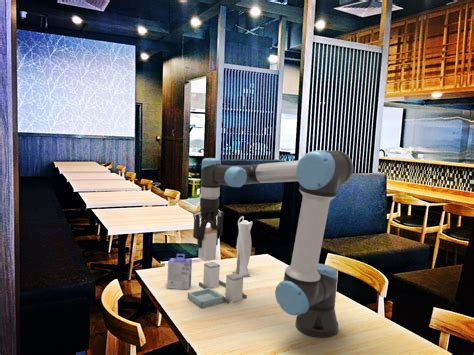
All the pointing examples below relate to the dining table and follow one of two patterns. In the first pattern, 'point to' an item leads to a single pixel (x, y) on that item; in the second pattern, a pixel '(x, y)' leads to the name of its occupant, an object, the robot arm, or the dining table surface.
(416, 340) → the dining table surface
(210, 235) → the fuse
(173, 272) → the ink cartridge box
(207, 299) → the tray
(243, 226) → the skyscraper
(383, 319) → the dining table surface
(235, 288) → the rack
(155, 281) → the dining table surface
